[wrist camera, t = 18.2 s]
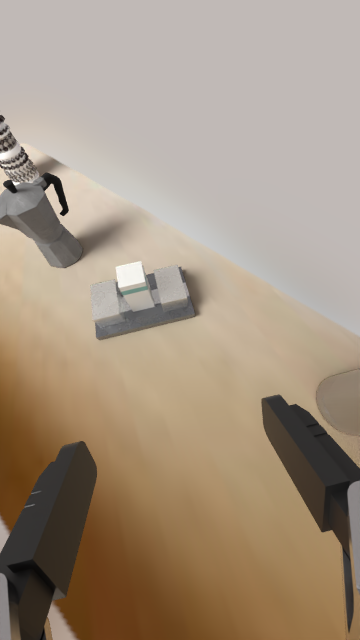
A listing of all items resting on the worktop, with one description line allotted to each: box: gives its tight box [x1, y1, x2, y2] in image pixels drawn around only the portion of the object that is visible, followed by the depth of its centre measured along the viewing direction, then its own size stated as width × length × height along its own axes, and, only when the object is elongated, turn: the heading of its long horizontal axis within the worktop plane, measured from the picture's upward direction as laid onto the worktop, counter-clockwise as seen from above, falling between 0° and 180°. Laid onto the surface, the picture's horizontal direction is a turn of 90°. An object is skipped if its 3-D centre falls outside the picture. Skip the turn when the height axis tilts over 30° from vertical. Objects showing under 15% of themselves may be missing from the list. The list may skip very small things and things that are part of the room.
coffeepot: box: [0, 173, 83, 268], centre depth 45 cm, size 15×9×18 cm, turn 146°
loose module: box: [116, 261, 155, 312], centre depth 40 cm, size 4×4×9 cm
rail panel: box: [90, 265, 195, 340], centre depth 43 cm, size 20×12×5 cm, turn 104°
